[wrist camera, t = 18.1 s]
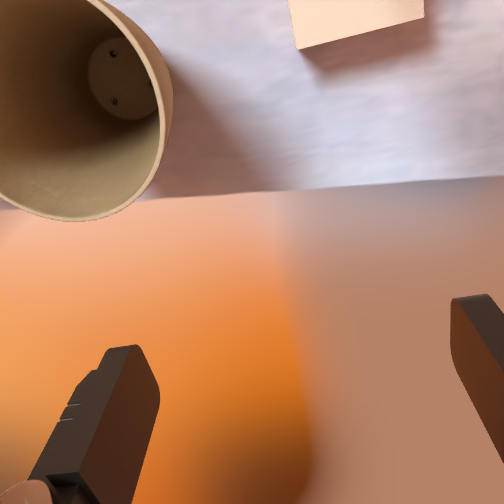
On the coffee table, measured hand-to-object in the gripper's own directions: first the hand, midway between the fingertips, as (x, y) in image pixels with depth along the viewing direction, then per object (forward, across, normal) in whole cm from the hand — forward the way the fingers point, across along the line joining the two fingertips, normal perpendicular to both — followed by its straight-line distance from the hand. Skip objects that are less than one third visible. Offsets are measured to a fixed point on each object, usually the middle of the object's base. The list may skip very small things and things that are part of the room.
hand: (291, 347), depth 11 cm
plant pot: (+34, +14, -5) cm, 37 cm away
